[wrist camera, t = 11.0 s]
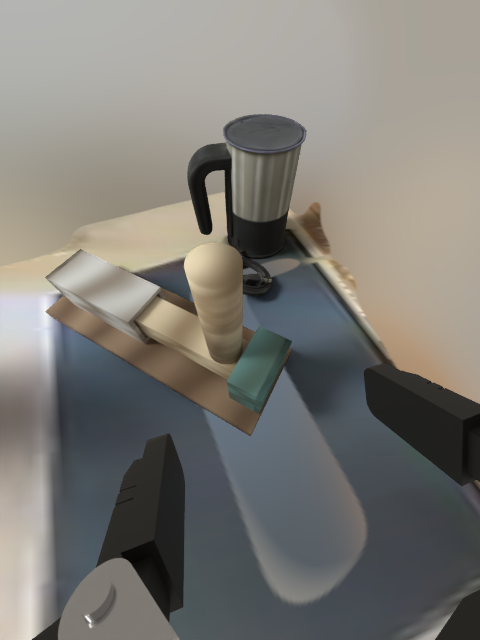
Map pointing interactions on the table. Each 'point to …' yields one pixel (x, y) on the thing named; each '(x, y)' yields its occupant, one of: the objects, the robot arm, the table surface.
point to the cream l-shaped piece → (204, 311)
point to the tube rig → (155, 358)
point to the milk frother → (251, 187)
